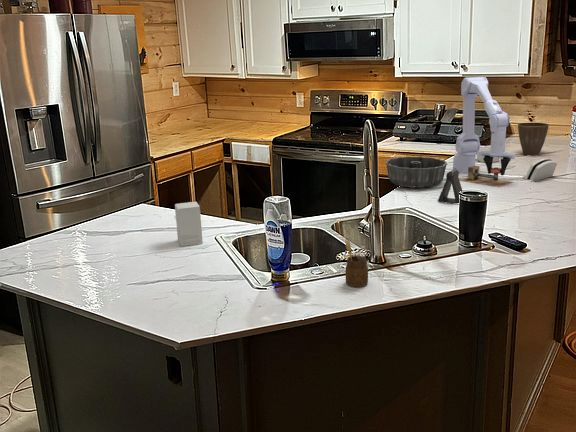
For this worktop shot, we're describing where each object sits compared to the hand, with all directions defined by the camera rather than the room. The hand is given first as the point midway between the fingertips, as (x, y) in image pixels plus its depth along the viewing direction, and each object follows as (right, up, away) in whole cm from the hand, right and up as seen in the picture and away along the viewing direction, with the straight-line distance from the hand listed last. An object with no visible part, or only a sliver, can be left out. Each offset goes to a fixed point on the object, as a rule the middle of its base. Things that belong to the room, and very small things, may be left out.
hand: (496, 174), depth 260 cm
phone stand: (-25, -12, -22) cm, 35 cm away
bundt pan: (-33, -4, +8) cm, 34 cm away
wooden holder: (-7, -2, +9) cm, 11 cm away
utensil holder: (-70, -36, -98) cm, 126 cm away
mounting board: (-3, -4, +5) cm, 7 cm away
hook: (-3, -2, +5) cm, 6 cm away
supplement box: (-121, -27, -59) cm, 137 cm away
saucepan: (+16, +11, +53) cm, 56 cm away
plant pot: (+39, +14, +61) cm, 74 cm away
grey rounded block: (+23, -2, +10) cm, 25 cm away
